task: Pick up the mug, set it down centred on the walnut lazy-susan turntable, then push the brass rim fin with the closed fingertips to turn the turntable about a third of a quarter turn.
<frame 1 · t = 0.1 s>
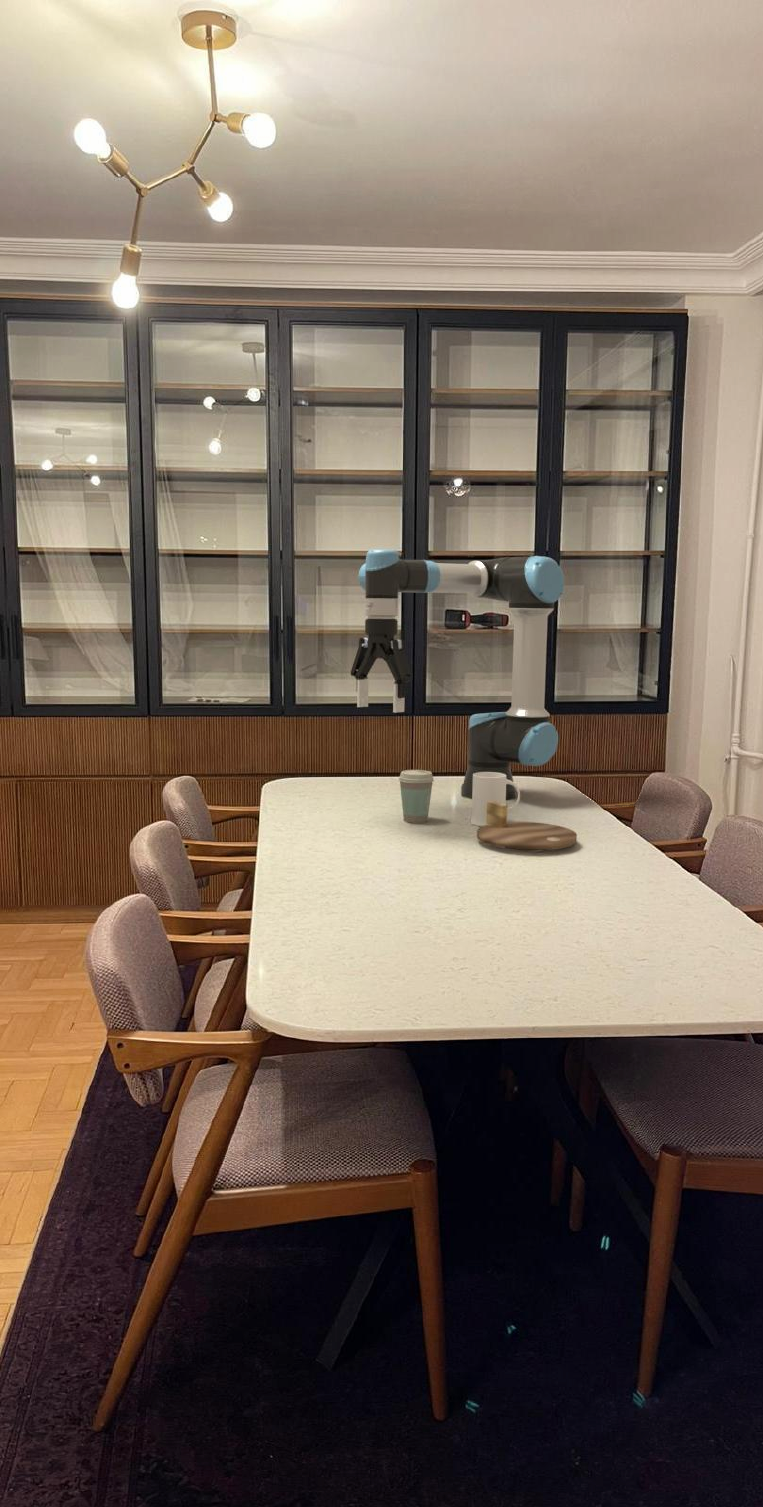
hand: (380, 709, 243), 28 cm above the table, fingers open, 13 cm apart
turntable: (525, 823, 231), point 4 cm above the table, hinge at 0.0°
coffee cup: (415, 821, 254), on the table
turntable base: (526, 843, 232), on the table
mug: (494, 824, 252), on the table
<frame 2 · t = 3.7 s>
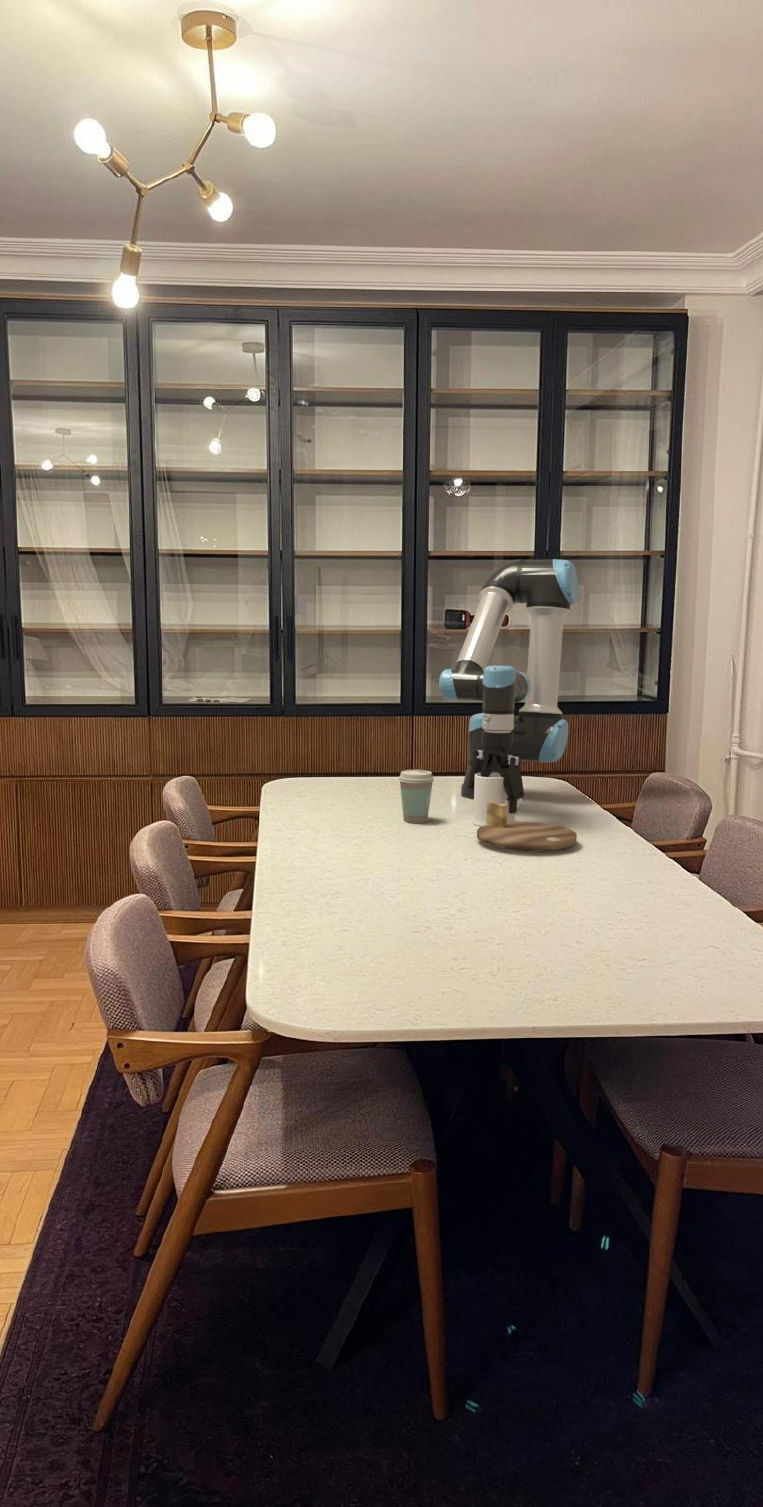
hand: (494, 822, 252), 0 cm above the table, fingers open, 9 cm apart
mug: (496, 824, 251), on the table, touching gripper
everything else where it was.
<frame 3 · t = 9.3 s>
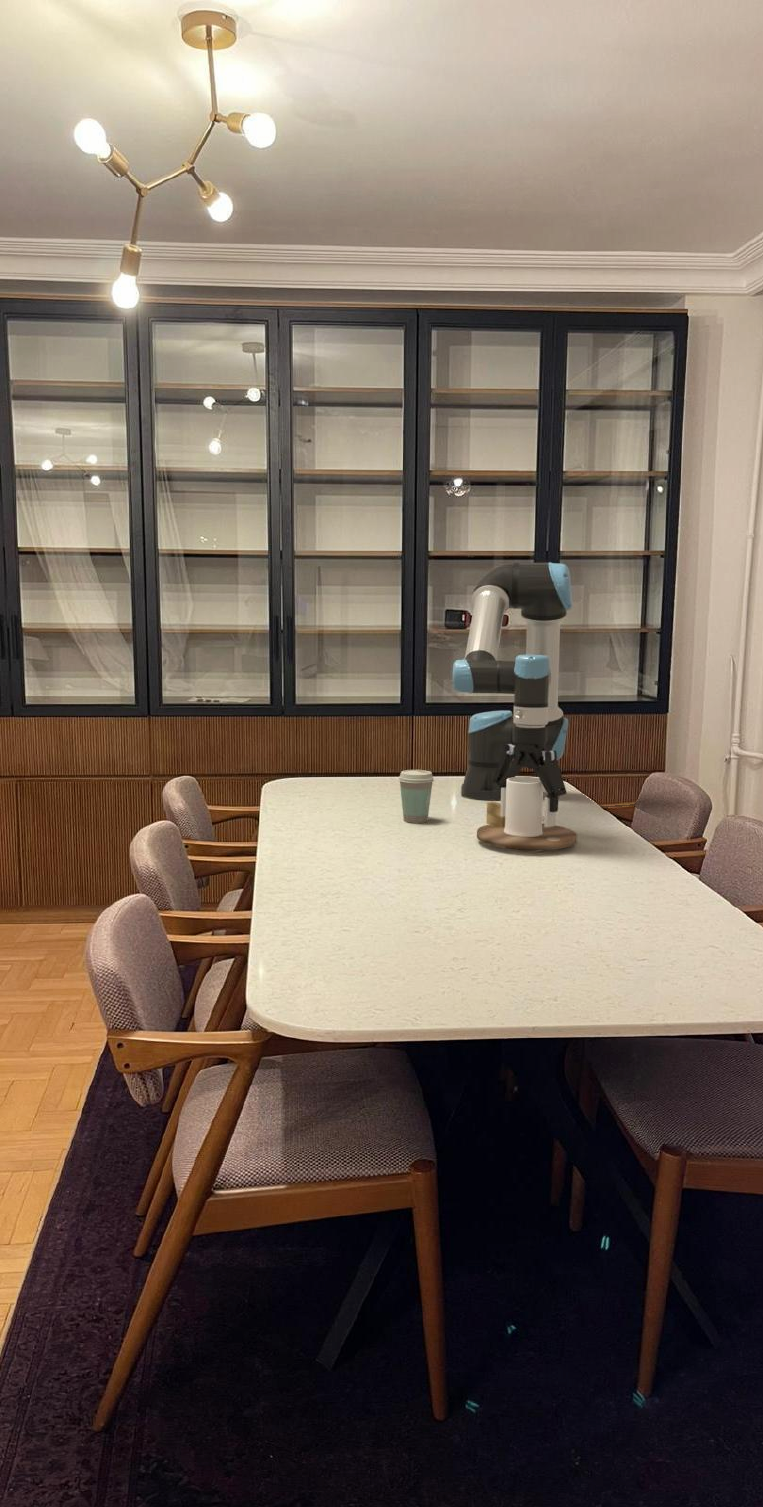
hand: (527, 821, 231), 5 cm above the table, fingers open, 13 cm apart
turntable: (525, 823, 231), point 4 cm above the table, hinge at 0.0°, touching gripper, mug
mug: (530, 834, 231), point 2 cm above the table, touching turntable
everything else where it was.
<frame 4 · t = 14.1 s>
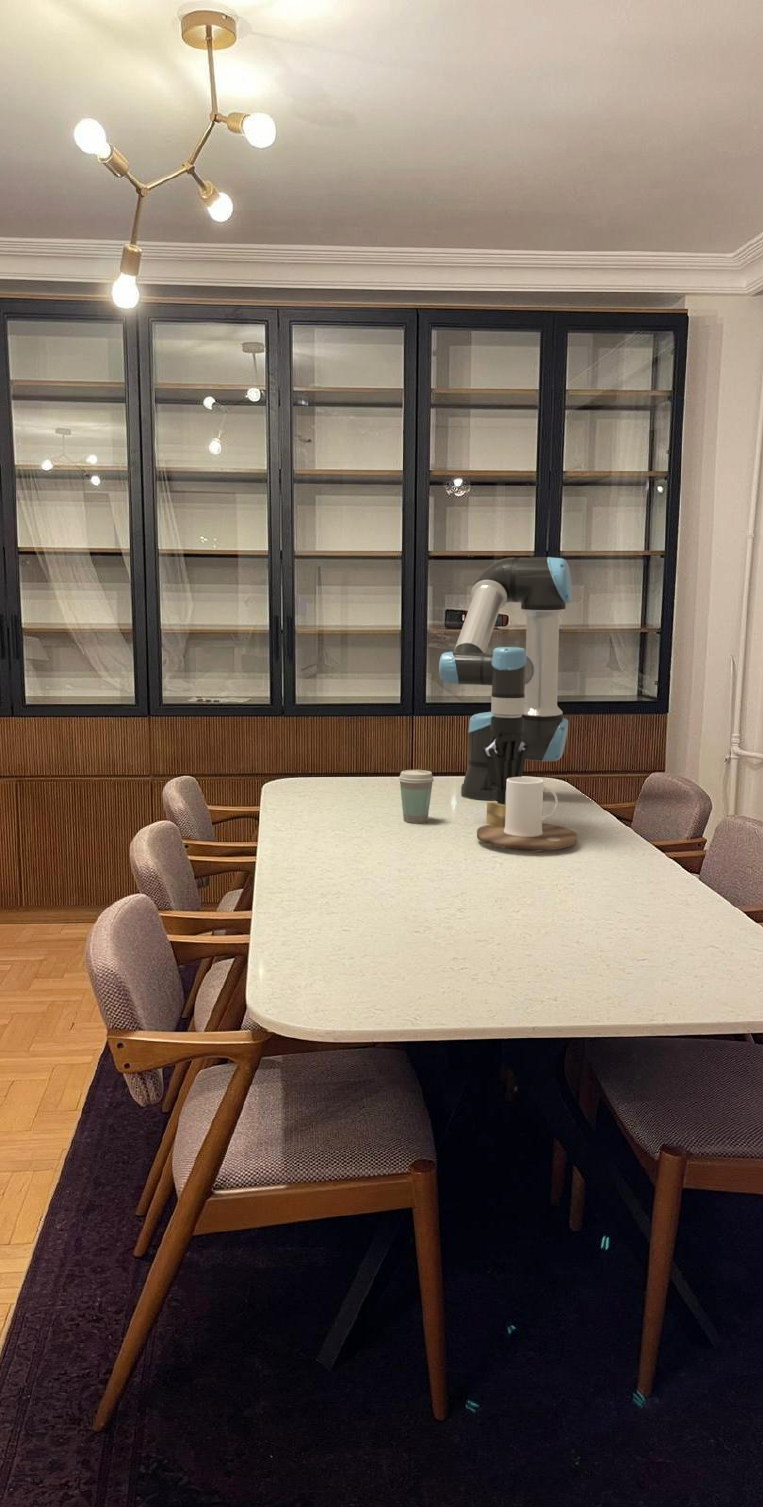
hand: (504, 817, 240), 4 cm above the table, fingers closed
nothing on the table moved.
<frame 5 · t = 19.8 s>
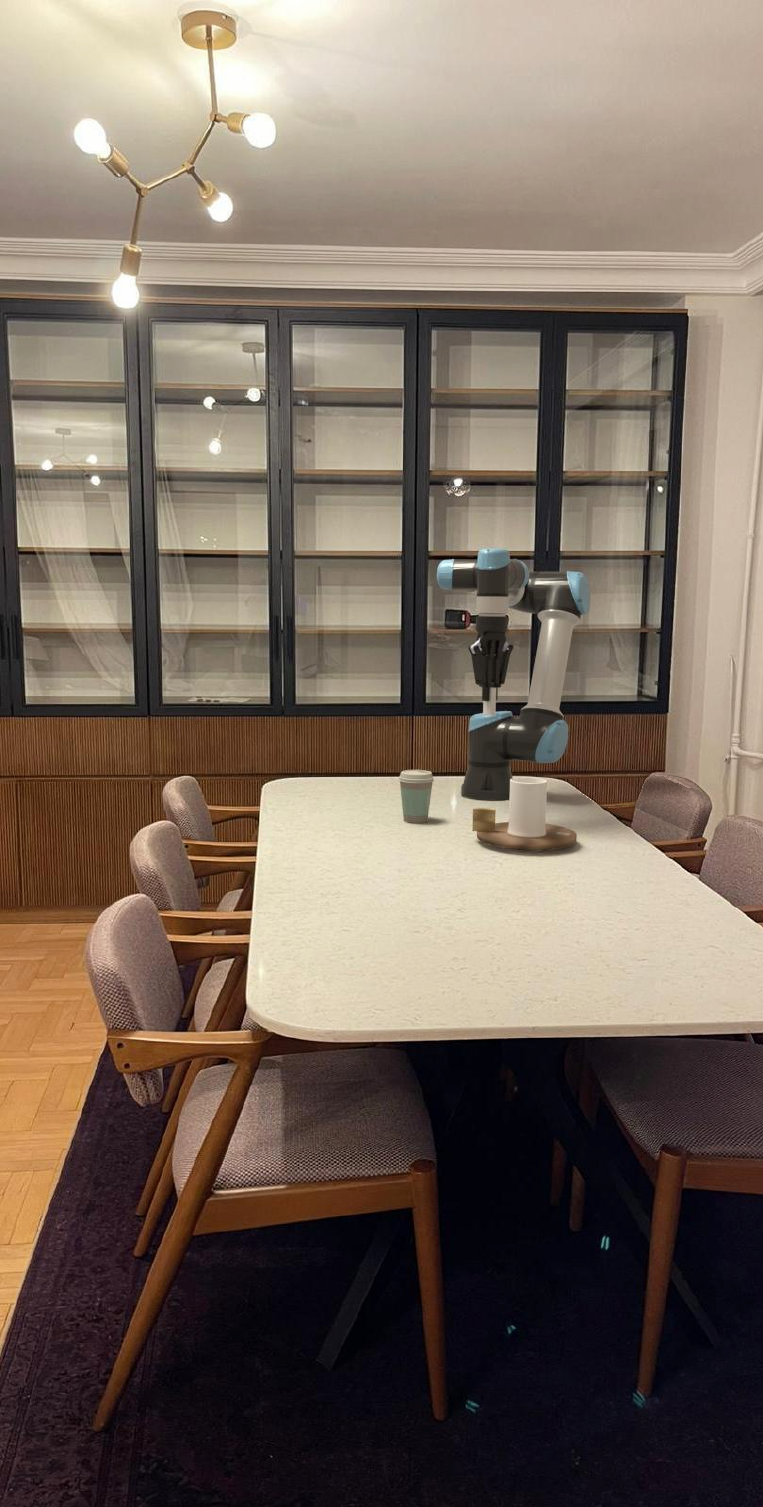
hand: (489, 714, 249), 26 cm above the table, fingers closed
turntable: (524, 824, 231), point 4 cm above the table, hinge at 44.5°, touching mug
at the end: mug 1.0 cm from the turntable (horizontally); mug tilted 0°; turntable at +44° (first picture: +0°) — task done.
